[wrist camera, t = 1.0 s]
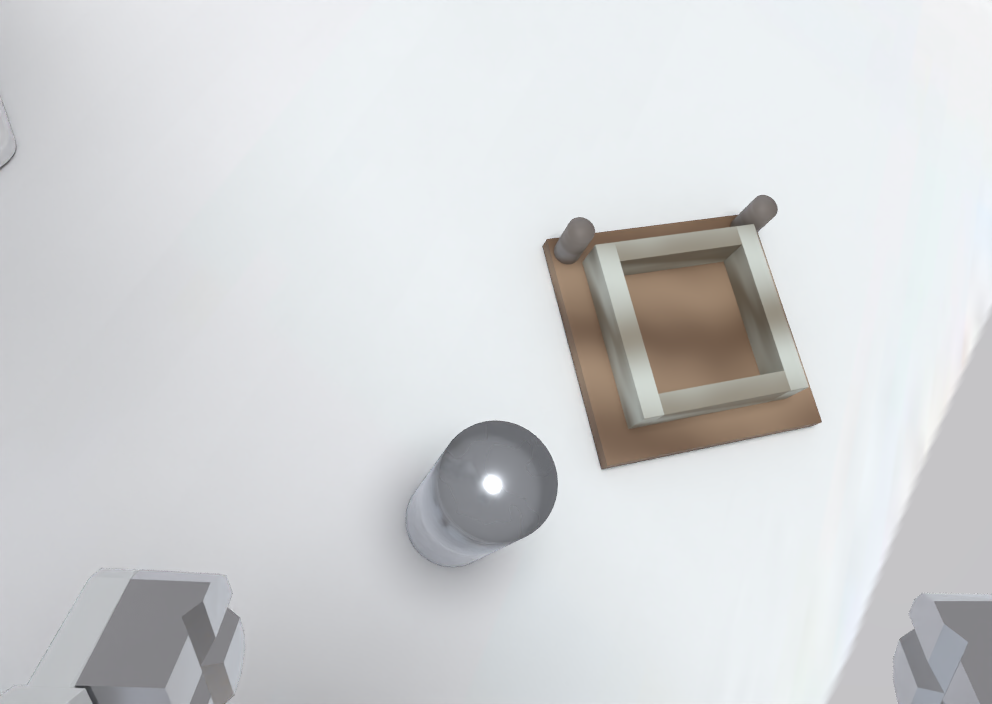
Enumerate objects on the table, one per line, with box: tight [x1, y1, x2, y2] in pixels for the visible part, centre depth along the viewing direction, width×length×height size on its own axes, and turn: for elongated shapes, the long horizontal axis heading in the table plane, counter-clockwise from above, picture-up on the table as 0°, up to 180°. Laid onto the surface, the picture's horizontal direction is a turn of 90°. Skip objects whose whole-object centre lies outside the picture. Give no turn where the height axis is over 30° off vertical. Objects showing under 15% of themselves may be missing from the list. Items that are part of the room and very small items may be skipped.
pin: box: [406, 421, 558, 567], centre depth 41 cm, size 5×5×12 cm
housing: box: [543, 195, 822, 469], centre depth 51 cm, size 14×14×4 cm
